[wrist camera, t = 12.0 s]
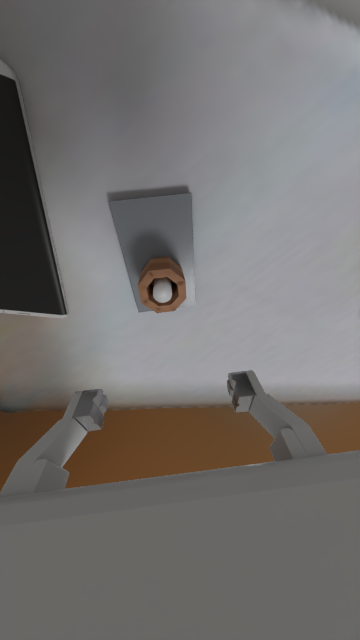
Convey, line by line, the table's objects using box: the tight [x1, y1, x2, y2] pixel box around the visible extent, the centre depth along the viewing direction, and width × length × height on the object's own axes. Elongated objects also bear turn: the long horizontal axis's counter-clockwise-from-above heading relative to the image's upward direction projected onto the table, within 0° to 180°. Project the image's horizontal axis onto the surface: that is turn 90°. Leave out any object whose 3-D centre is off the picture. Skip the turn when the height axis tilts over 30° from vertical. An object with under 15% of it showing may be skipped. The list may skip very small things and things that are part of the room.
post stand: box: [108, 193, 195, 312], centre depth 23 cm, size 10×16×7 cm, turn 5°
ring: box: [137, 257, 186, 313], centre depth 24 cm, size 6×6×5 cm
